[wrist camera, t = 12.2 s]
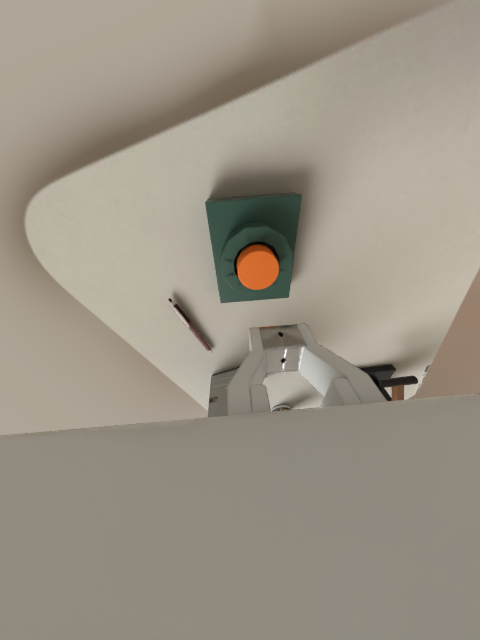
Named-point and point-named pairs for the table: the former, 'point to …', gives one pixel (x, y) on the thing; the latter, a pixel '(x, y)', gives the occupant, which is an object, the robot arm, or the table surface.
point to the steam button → (257, 267)
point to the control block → (253, 240)
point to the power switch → (398, 385)
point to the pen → (189, 324)
